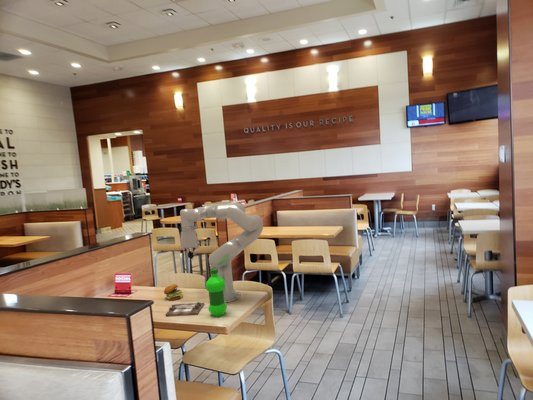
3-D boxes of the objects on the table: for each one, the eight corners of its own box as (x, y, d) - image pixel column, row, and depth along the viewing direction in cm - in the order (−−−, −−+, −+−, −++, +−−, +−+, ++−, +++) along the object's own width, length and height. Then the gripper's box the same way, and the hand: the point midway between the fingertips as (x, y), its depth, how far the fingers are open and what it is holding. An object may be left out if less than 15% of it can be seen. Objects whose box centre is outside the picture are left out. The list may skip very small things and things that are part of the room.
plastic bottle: (207, 318, 207) (202, 272, 205) (211, 311, 217) (206, 267, 215) (226, 317, 206) (221, 271, 204) (228, 310, 217) (224, 266, 215)
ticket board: (204, 304, 230) (203, 299, 229) (197, 314, 214) (196, 308, 214) (174, 306, 231) (174, 300, 231) (165, 316, 215) (164, 310, 215)
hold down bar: (198, 306, 223) (198, 305, 223) (197, 308, 221) (197, 306, 221) (173, 306, 224) (173, 305, 224) (171, 308, 222) (171, 307, 222)
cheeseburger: (180, 300, 241) (174, 285, 240) (164, 305, 243) (159, 290, 242) (186, 294, 251) (180, 280, 250) (171, 299, 253) (166, 284, 252)
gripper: (201, 227, 241) (204, 256, 243) (177, 229, 242) (180, 258, 243) (199, 229, 234) (202, 258, 235) (174, 231, 234) (177, 261, 236)
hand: (191, 258), depth 239 cm, fingers closed
